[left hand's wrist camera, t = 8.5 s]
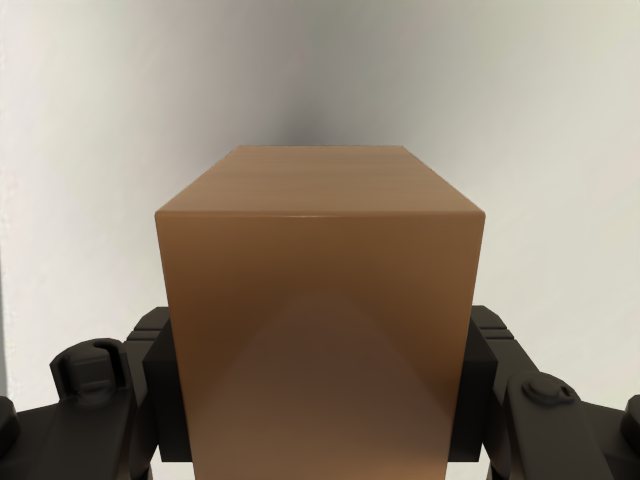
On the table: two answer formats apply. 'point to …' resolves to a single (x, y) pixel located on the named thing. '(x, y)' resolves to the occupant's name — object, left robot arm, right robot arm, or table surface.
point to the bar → (320, 312)
